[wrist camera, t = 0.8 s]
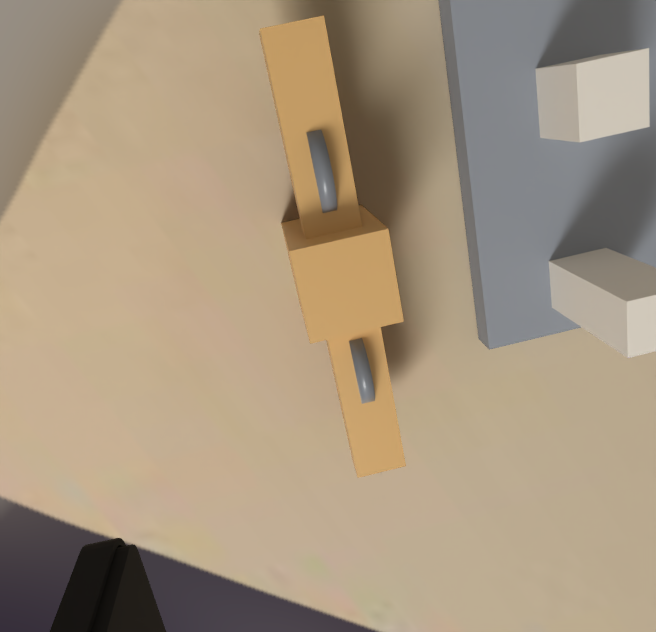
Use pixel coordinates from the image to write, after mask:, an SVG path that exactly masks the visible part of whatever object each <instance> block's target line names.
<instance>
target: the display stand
mask: <svg viewBox="0 0 656 632" xmlns="http://www.w3.org/2000/svg"><path fill="white" fill-rule="evenodd" d="M439 8H440V16H441V25H442V33H443V42H444V50H445V59H446V67H447V75H448V84H449V92H450V101H451V109H452V118H453V126H454V134H455V143H456V151H457V160H458V168H459V177H460V185H461V193H462V202H463V210H464V219H465V227H466V236H467V244H468V252H469V261H470V269H471V278H472V286H473V295H474V303H475V311H476V320H477V328H478V337H479V340H480V341H481V342H482V343H483V344H484V345H485V346H486V347H487V348H488V349H493V348H498V347H502V346H506V345H510V344H514V343H518V342H522V341H527V340H531V339H535V338H539V337H543V336H547V335H552V334H556V333H560V332H564V331H568V330H572V329H576V328H581V327H582V328H583V329H585V330H586V331H588V332H589V333H591V334H592V335H594V336H595V337H597V338H598V339H600V340H601V341H603V342H604V343H606V344H607V345H609V346H610V347H612V348H613V349H615V350H616V351H618V352H619V353H621V354H622V355H624V356H625V357H627V358H630V357H634V356H639V355H643V354H647V353H651V352H655V351H656V0H439Z"/></svg>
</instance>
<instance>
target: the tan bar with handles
mask: <svg viewBox="0 0 656 632" xmlns="http://www.w3.org/2000/svg"><path fill="white" fill-rule="evenodd" d="M259 35H260V40H261V44H262V49H263V53H264V58H265V62H266V67H267V72H268V76H269V81H270V85H271V90H272V94H273V99H274V103H275V108H276V113H277V117H278V122H279V126H280V131H281V135H282V140H283V145H284V149H285V154H286V158H287V163H288V167H289V172H290V177H291V181H292V186H293V190H294V195H295V199H296V204H297V208H298V213H299V218H300V219H296V220H292V221H287V222H283V223H281V224H282V229H283V233H284V237H285V242H286V246H287V250H288V255H289V259H290V263H291V268H292V272H293V276H294V281H295V285H296V289H297V294H298V298H299V302H300V306H301V310H302V314H303V317H304V321H305V325H306V329H307V333H308V337H309V340H310V344H311V343H315V342H319V341H324V340H326V341H327V345H328V350H329V355H330V359H331V364H332V368H333V373H334V377H335V382H336V387H337V391H338V396H339V400H340V405H341V409H342V414H343V418H344V423H345V428H346V432H347V437H348V441H349V446H350V450H351V455H352V460H353V463H354V466H355V470H356V473H357V477H358V478H359V477H363V476H367V475H371V474H375V473H379V472H383V471H387V470H391V469H395V468H400V467H404V466H406V464H405V458H404V453H403V447H402V442H401V436H400V431H399V425H398V420H397V414H396V409H395V403H394V398H393V392H392V387H391V381H390V376H389V370H388V365H387V359H386V354H385V348H384V343H383V337H382V332H381V327H383V326H387V325H391V324H396V323H400V322H404V319H403V313H402V307H401V301H400V295H399V289H398V283H397V277H396V271H395V265H394V259H393V253H392V247H391V241H390V235H389V229H388V228H387V227H386V226H385V225H384V224H382V223H381V222H380V221H379V220H378V219H377V218H376V217H375V216H373V215H372V214H371V213H370V212H369V211H368V210H367V209H365V208H364V207H363V206H362V205H358V200H357V195H356V189H355V184H354V178H353V173H352V167H351V162H350V156H349V151H348V145H347V140H346V134H345V129H344V123H343V118H342V112H341V107H340V101H339V96H338V90H337V85H336V79H335V74H334V68H333V63H332V57H331V52H330V46H329V41H328V35H327V30H326V24H325V19H324V16H319V17H314V18H309V19H304V20H299V21H295V22H290V23H285V24H280V25H275V26H271V27H266V28H261V29H260V32H259Z"/></svg>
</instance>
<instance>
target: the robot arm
mask: <svg viewBox="0 0 656 632" xmlns="http://www.w3.org/2000/svg"><path fill="white" fill-rule="evenodd" d="M50 632H166V630H165V627H164V624H163V622H162V618H161V616H160V613H159V610H158V607H157V604H156V601H155V599H154V595H153V592H152V590H151V587H150V584H149V581H148V578H147V575H146V572H145V569H144V566H143V563H142V561H141V558H140V555H139V552H138V549H137V547H136V546H135V545H133V544H132V545H128V546H126V545H125V543H124V541H123V540H122V539H121V538H116V539H111V540H107V541H102V542H97V543H93V544H88V545H85V546H84V547H83V548H82V549H81V551H80V554H79V556H78V559H77V562H76V564H75V567H74V569H73V572H72V575H71V577H70V581H69V583H68V585H67V588H66V590H65V593H64V596H63V598H62V601H61V603H60V606H59V609H58V611H57V614H56V617H55V619H54V622H53V624H52V627H51V630H50Z"/></svg>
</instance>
